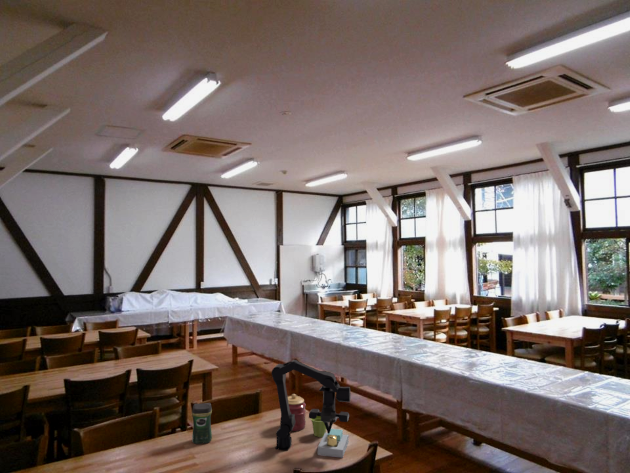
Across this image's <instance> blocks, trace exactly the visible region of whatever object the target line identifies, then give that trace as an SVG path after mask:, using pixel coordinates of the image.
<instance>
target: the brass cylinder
mask: <svg viewBox="0 0 630 473" xmlns="http://www.w3.org/2000/svg"><path fill="white" fill-rule="evenodd" d="M327 446H330V447H337V436H335V435H328V436H327Z"/></svg>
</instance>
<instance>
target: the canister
mask: <svg viewBox="0 0 630 473" xmlns="http://www.w3.org/2000/svg"><path fill="white" fill-rule="evenodd" d="M287 397H288V403H289V409H290V412H291V414H294V418H295V421H296V422H295V425H294V427H293V429H292V431H291V432H297V431H301V430H304V429H305V427H306V425H307V424H306V412H307V411H306V403H305V399H304V398H303V397H301V396H300V395H299V396H298V395H297V394H295V393H292V394H291V395H288V396H287Z"/></svg>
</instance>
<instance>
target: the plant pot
mask: <svg viewBox="0 0 630 473" xmlns="http://www.w3.org/2000/svg"><path fill="white" fill-rule="evenodd" d="M310 421H311V424H312V431H313V436H314V437H318V438H323V436H324V434H325V433H327V430H326V427H325V424H324V422H323V421H321V416H317V417H316V418H315V419H311V418H310Z"/></svg>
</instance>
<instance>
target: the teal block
mask: <svg viewBox="0 0 630 473" xmlns="http://www.w3.org/2000/svg"><path fill="white" fill-rule="evenodd" d="M343 431H344V430H343V429H340V428H339V429H338V428H331V431H330V434H327V436H328V435H335V436H337V440H339V441H340V440H341V438H342V435H343V434H344V432H343Z"/></svg>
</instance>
